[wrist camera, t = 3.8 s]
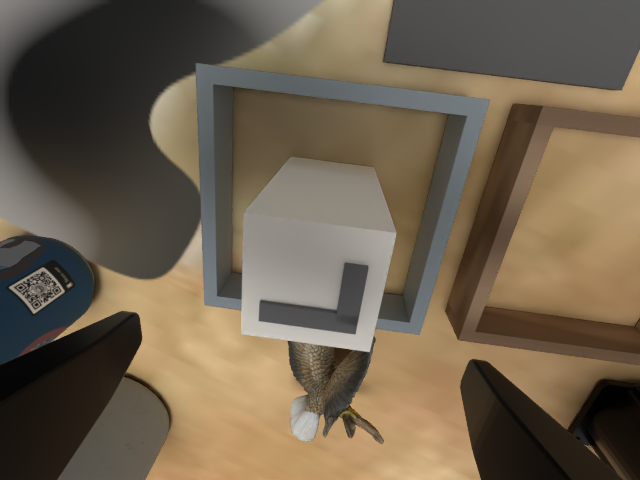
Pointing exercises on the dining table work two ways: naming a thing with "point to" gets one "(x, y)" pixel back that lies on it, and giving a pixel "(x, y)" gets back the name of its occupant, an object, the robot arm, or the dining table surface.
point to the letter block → (316, 255)
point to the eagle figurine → (327, 389)
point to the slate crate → (462, 110)
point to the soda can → (40, 292)
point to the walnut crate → (494, 236)
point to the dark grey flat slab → (520, 38)
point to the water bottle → (122, 437)
